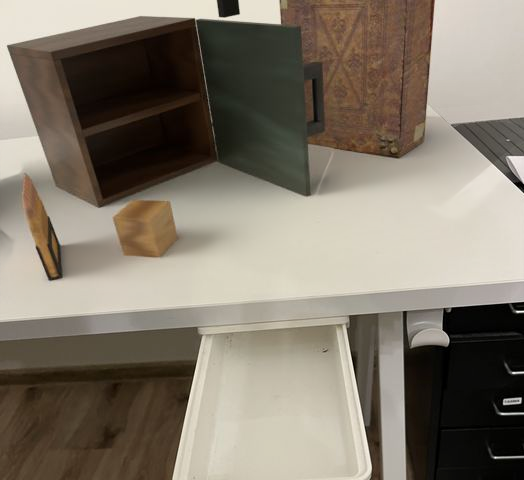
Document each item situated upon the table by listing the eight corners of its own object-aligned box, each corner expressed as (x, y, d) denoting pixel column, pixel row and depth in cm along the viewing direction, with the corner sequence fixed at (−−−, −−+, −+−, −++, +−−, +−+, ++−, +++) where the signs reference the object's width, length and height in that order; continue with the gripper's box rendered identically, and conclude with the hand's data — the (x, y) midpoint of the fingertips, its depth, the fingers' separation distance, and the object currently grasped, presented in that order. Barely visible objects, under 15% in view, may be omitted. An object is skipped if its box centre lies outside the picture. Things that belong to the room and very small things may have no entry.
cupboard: (218, 161, 108) (195, 18, 93) (99, 208, 95) (50, 51, 80) (168, 145, 119) (140, 15, 104) (55, 186, 107) (6, 45, 92)
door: (246, 151, 110) (229, 12, 95) (337, 183, 92) (333, 17, 77) (218, 162, 107) (195, 19, 92) (306, 196, 89) (295, 27, 74)
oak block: (123, 255, 80) (112, 217, 76) (143, 236, 84) (133, 199, 81) (160, 258, 78) (150, 219, 74) (178, 238, 82) (169, 200, 79)
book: (289, 141, 112) (275, -37, 94) (315, 127, 118) (307, -43, 99) (399, 158, 98) (409, -47, 80) (424, 142, 103) (438, -55, 85)
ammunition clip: (62, 277, 77) (30, 195, 69) (48, 280, 76) (15, 199, 69) (60, 245, 85) (31, 169, 78) (48, 248, 85) (18, 172, 77)
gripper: (259, -230, 62) (277, 12, 76) (200, -204, 71) (226, 9, 85) (203, -231, 59) (233, 22, 73) (148, -203, 68) (184, 18, 82)
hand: (229, 15), depth 79 cm, fingers closed
